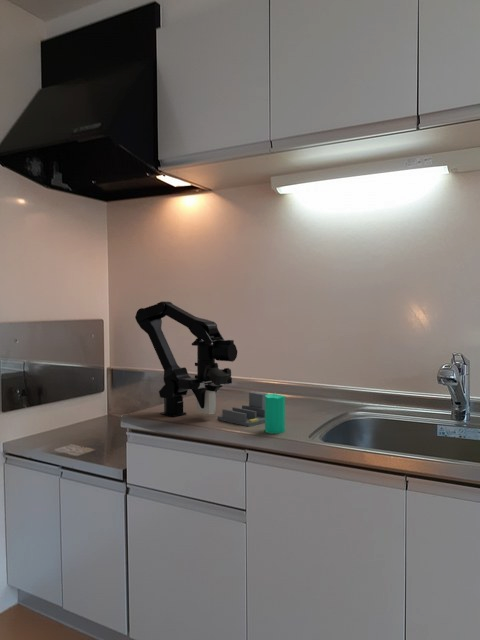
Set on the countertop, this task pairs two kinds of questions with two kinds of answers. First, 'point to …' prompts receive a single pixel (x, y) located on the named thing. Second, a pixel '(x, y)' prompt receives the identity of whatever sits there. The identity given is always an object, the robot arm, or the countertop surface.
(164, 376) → the robot arm
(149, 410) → the countertop surface
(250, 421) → the rack
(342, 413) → the countertop surface
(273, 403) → the candle
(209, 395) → the block
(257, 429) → the countertop surface
